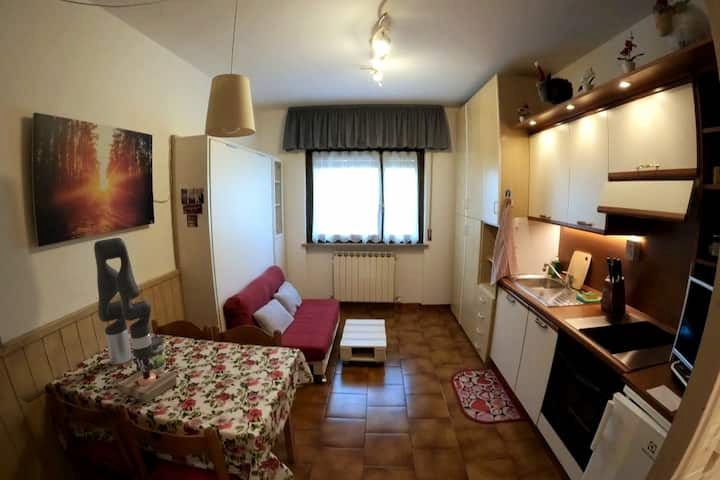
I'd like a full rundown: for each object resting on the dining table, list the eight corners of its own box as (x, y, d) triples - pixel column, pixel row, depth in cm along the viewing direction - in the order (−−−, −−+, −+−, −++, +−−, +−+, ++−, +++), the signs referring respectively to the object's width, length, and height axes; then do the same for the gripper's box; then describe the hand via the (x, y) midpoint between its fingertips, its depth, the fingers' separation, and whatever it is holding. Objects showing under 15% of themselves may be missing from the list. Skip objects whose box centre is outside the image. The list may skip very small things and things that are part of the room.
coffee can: (170, 361, 168) (167, 337, 165) (154, 372, 158) (151, 347, 155) (154, 359, 170) (151, 335, 167) (137, 370, 160) (133, 345, 157)
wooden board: (118, 391, 144) (117, 383, 143) (148, 374, 157) (147, 366, 156) (148, 402, 137) (146, 394, 136) (176, 383, 150) (175, 375, 149)
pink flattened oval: (136, 389, 145) (134, 380, 144) (150, 380, 151) (149, 372, 150) (145, 392, 142) (144, 383, 142) (160, 383, 149) (158, 375, 148)
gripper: (123, 345, 142) (129, 379, 145) (143, 351, 137) (148, 386, 140) (140, 337, 148) (145, 370, 152) (159, 342, 144) (164, 376, 147)
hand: (146, 377), depth 146 cm, fingers closed
